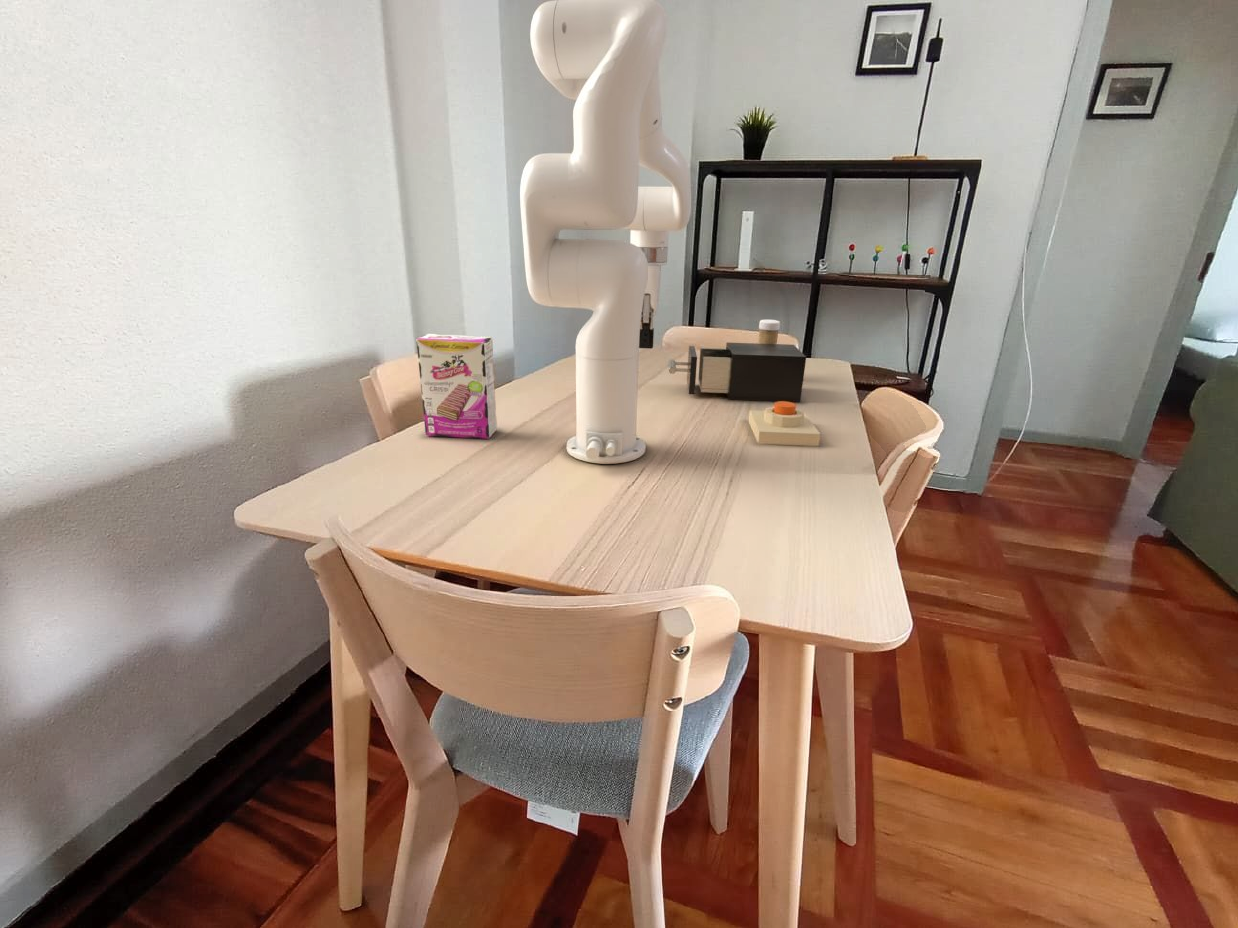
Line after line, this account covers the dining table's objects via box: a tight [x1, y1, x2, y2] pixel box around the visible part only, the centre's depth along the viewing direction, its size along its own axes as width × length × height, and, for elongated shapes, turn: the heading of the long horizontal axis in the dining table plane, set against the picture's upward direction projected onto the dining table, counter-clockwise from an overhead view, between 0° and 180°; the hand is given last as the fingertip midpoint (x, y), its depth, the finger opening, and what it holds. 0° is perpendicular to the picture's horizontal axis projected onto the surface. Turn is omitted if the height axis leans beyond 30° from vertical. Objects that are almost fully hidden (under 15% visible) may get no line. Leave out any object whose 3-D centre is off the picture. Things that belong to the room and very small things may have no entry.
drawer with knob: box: [667, 345, 732, 395], centre depth 130 cm, size 18×11×8 cm, turn 86°
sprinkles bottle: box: [757, 319, 781, 344], centre depth 141 cm, size 5×5×14 cm
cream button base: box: [748, 406, 821, 447], centre depth 106 cm, size 12×10×4 cm
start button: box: [773, 401, 797, 415], centre depth 105 cm, size 4×4×2 cm
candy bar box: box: [415, 333, 498, 440], centre depth 100 cm, size 11×5×16 cm, turn 85°
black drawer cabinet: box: [725, 342, 807, 404], centre depth 129 cm, size 15×13×10 cm
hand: (645, 347), depth 129 cm, fingers closed
